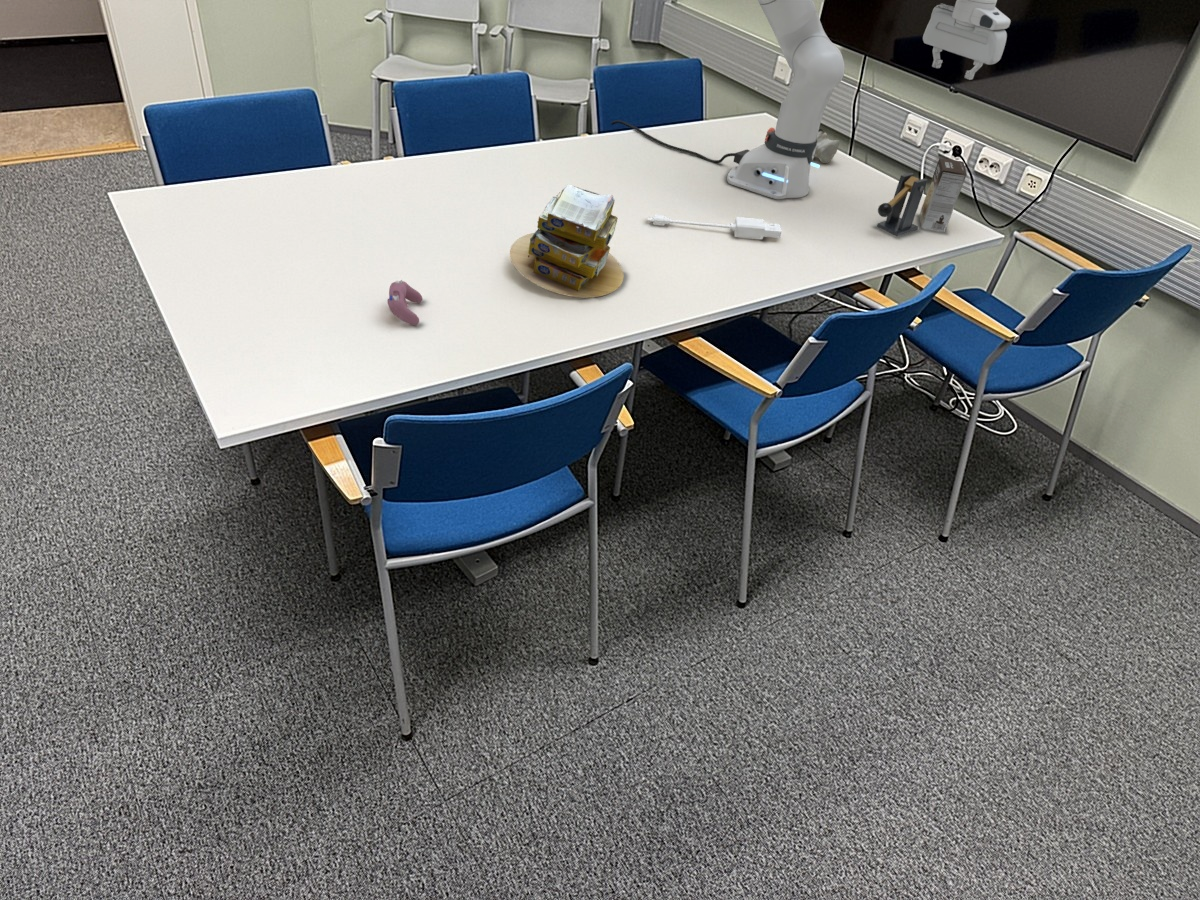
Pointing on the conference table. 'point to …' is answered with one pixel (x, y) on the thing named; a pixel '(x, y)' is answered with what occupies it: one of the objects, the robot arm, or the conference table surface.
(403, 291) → the video game controller
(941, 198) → the coffee box
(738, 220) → the charging cable
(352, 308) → the conference table surface
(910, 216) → the dark grey upright bracket
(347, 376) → the conference table surface
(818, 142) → the ceramic sculpture
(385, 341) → the conference table surface
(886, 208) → the flush lever
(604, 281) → the stack of yellow boxes
